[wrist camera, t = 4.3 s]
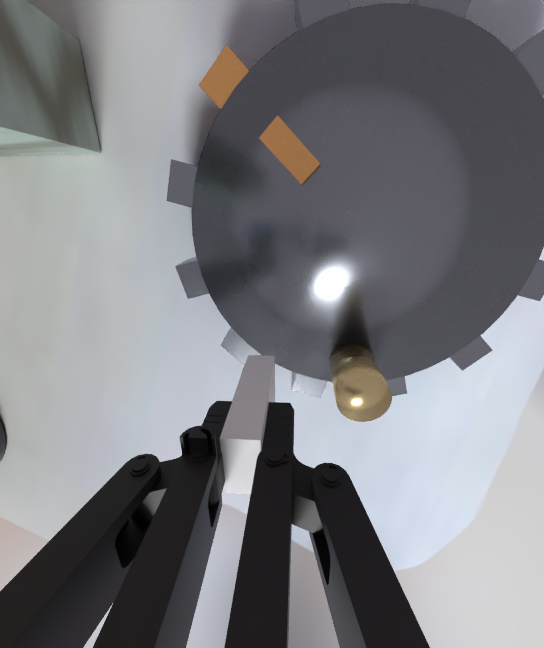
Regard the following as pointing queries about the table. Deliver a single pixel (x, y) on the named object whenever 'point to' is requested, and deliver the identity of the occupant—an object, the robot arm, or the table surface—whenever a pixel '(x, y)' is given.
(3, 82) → the link block
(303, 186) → the sprocket wheel
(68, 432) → the table surface
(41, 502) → the table surface
